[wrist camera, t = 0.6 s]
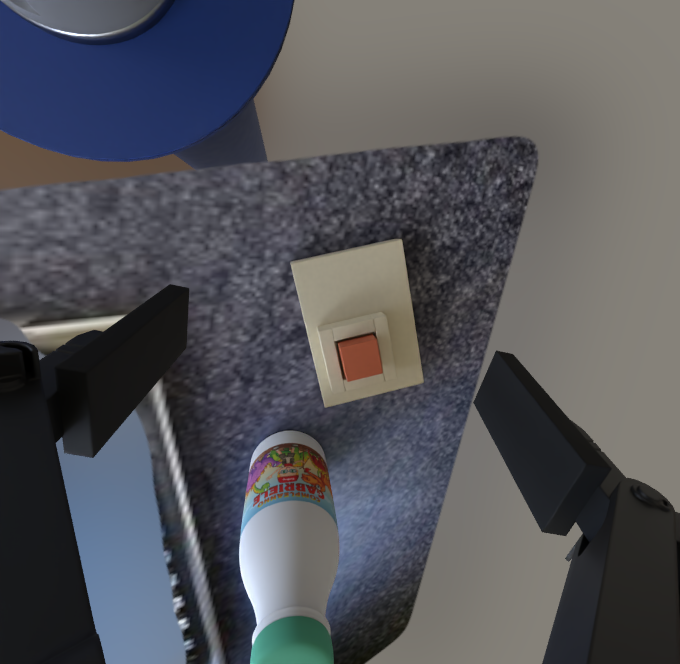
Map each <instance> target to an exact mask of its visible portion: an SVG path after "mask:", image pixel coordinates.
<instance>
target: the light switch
mask: <svg viewBox="0 0 680 664" xmlns="http://www.w3.org/2000/svg"><path fill="white" fill-rule="evenodd" d="M290 263H291V268H292V272H293V276H294V280H295V284H296V288H297V293H298V297H299V301H300V305H301V309H302V314H303V318H304V322H305V326H306V330H307V335H308V339H309V343H310V347H311V351H312V355H313V360H314V364H315V368H316V372H317V376H318V381H319V385H320V389H321V393H322V397H323V402H324V406H325V408H326V407H330V406H334V405H338V404H342V403H346V402H350V401H354V400H358V399H362V398H366V397H369V396H373V395H377V394H381V393H385V392H389V391H393V390H397V389H401V388H405V387H409V386H413V385H417V384H421V383H424V380H423V373H422V367H421V360H420V354H419V347H418V341H417V334H416V328H415V321H414V314H413V308H412V301H411V295H410V288H409V282H408V275H407V269H406V262H405V256H404V249H403V243H402V239H392V240H387V241H383V242H378V243H373V244H369V245H364V246H360V247H355V248H351V249H346V250H342V251H337V252H332V253H328V254H323V255H319V256H314V257H310V258H305V259H301V260H296V261H291V262H290ZM370 334H373V335H374V337H375V338H376V339H377V343H378V348H379V354H380V359H381V365H382V370H383V373H382V374H378V375H374V376H370V377H366V378H362V379H358V380H354V381H350V382H347V380H346V377H345V375H344V370H343V366H342V361H341V357H340V352H339V347H338V342H340V341H345V340H349V339H353V338H357V337H361V336H365V335H370Z"/></svg>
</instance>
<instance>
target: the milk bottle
mask: <svg viewBox="0 0 680 664" xmlns="http://www.w3.org/2000/svg"><path fill="white" fill-rule="evenodd" d="M239 558H240V569H241V575H242V579H243V583H244V586H245V588H246V591H247V593H248V596H249V598H250V600H251V602H252V605H253V608H254V611H255V615H256V620H257V627H256V629H255V631H254V633H253V638H252V645H253V647H252V652H251V660H250V664H333V663H334V660H333V648H332V642H331V637H330V626H329V623H328V621H327V619H326V618H325V612H326V606H327V601H328V597H329V593H330V591H331V588H332V585H333V582H334V579H335V576H336V572H337V567H338V561H339V536H338V528H337V520H336V514H335V508H334V502H333V496H332V490H331V485H330V479H329V474H328V468H327V463H326V459H325V455H324V452H323V449H322V447H321V446H320V444H319V443H318V442H317V441H316V440H315V439H314V438H312V437H311V436H309V435H307V434H305V433H302V432H299V431H282V432H278V433H275V434H273V435H271V436H269V437H268V438H266V439H265V440H264V441H262V442H261V443H260V444H259V445H258V447H257V448H256V450H255V451H254V453H253V456H252V459H251V464H250V470H249V477H248V484H247V491H246V498H245V505H244V512H243V520H242V527H241V537H240V548H239Z"/></svg>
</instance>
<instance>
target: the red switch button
mask: <svg viewBox="0 0 680 664" xmlns="http://www.w3.org/2000/svg"><path fill="white" fill-rule="evenodd" d="M338 347H339V352H340V357H341V361H342V366H343V370H344V375H345V377H346V380H347V382H350V381H354V380H358V379H362V378H366V377H370V376H374V375H378V374H382V373H383V370H382V365H381V359H380V354H379V348H378V343H377V339H376V338H375V337H374V335H373V334H370V335H365V336H361V337H357V338H353V339H349V340H345V341H340V342H338Z"/></svg>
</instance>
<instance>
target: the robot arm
mask: <svg viewBox="0 0 680 664" xmlns="http://www.w3.org/2000/svg"><path fill="white" fill-rule="evenodd" d="M0 1H1V2H3V3H4V4H5V5H6V6H8V7H9V8H10V9H11V10H12V11H14V12H15V13H16V14H18V15H19V16H20V17H22V18H23V19H24V20H26V21H27V22H29V23H30V24H32V25H34V26H35V27H37V28H39V29H41V30H42V31H44V32H46V33H48V34H51V35H53V36H56V37H58V38H61V39H64V40H67V41H70V42H75V43H80V44H88V45H109V44H116V43H120V42H124V41H127V40H130V39H133V38H135V37H137V36H139V35H141V34H143V33H145V32H146V31H148V30H149V29H151V28H152V27H153V26H154V25H155V24H157V23H158V22H159V21H160V20H161V19H162V18H163V17H164V15H165V14H166V13H167V12H168V10H169V9H170V8H171V6H172V4H173V3H174V1H175V0H0ZM188 302H189V288H185V287H180V286H176V285H171V284H170V285H168V286H167V287H166V288H164V289H163V290H161V291H160V292H159V293H157V294H156V295H154V296H153V297H152V298H150V299H149V300H147V301H146V302H145V303H143V304H142V305H140V306H139V307H138V308H136V309H135V310H133V311H132V312H131V313H129V314H128V315H126V316H125V317H124V318H122V319H121V320H119V321H118V322H117V323H115V324H114V325H112V326H111V327H109V328H108V329H107V330H105V331H104V332H102V331H97V330H92V331H89V332H86V333H83V334H80V335H77V336H76V337H74V338H73V339H71V340H70V341H68V342H67V343H66V344H65V345H62V346H61V347H59V348H58V349H56V351H53V352H51V353H50V354H48V355H47V356H45V357H44V358H42V359H41V360H39V355H38V350H37V348H36V347H35V346H34V345H32V344H29V343H27V342H20V341H0V664H106V663H105V659H104V654H103V650H102V646H101V642H100V638H99V635H98V634H97V633H96V629H95V625H94V621H93V616H92V611H91V607H90V603H89V597H88V593H87V588H86V583H85V579H84V574H83V569H82V565H81V560H80V555H79V551H78V546H77V541H76V537H75V532H74V527H73V522H72V518H71V513H70V509H69V504H68V499H67V494H66V490H65V485H64V480H63V476H62V471H61V466H60V462H59V457H58V452H57V448H56V442H57V441H58V440H59V439H60V438H61V437H62V438H63V446H64V453H67V454H73V455H79V456H85V457H92V458H93V457H94V456H95V455H96V454H97V453H98V452H99V450H100V449H101V448H102V447H103V446H104V445H105V443H106V442H107V441H108V440H109V439H110V437H111V436H112V435H113V434H114V433H115V431H116V430H117V429H118V428H119V427H120V426H121V424H122V423H123V422H124V421H125V420H126V418H127V417H128V416H129V415H130V414H131V413H132V411H133V410H134V409H135V408H136V407H137V405H138V404H139V403H140V402H141V401H142V400H143V398H144V397H145V396H146V395H147V394H148V392H149V391H150V390H151V389H152V388H153V386H154V385H155V384H156V383H157V382H158V381H159V379H160V378H161V377H162V376H163V375H164V373H165V372H166V371H167V370H168V369H169V368H170V366H171V365H172V364H173V363H174V362H175V360H176V359H177V358H178V357H179V356H180V355H181V353H182V352H183V351H184V350H185V349H186V343H187V323H188ZM473 403H474V404H475V406H476V408H477V410H478V412H479V414H480V416H481V418H482V420H483V421H484V423H485V425H486V427H487V429H488V431H489V433H490V435H491V437H492V439H493V440H494V442H495V444H496V446H497V448H498V450H499V452H500V453H501V455H502V457H503V459H504V461H505V463H506V465H507V467H508V469H509V470H510V472H511V474H512V476H513V478H514V480H515V482H516V484H517V486H518V487H519V489H520V491H521V493H522V495H523V497H524V499H525V501H526V503H527V504H528V506H529V508H530V510H531V512H532V514H533V516H534V518H535V520H536V521H537V523H538V525H539V527H540V529H541V531H542V532H544V533H550V534H557V535H563V536H566V535H567V534H568V532H569V531H570V529H571V528H572V526H573V525H574V523H575V522H576V523H577V524H578V526H579V527H580V529H581V531H582V532H583V534H582V536H581V537H580V538H579V540H578V541H577V542H576V544H575V545H574V547H573V548H572V550H571V551H570V553H569V554H568V555H567V557H566V558H565V559H566V560H567V561H570V560H571V559H572V561H571V564H570V568H569V571H568V575H567V578H566V582H565V586H564V589H563V592H562V596H561V600H560V603H559V607H558V610H557V614H556V617H555V621H554V624H553V628H552V631H551V635H550V638H549V642H548V645H547V649H546V653H545V656H544V660H543V663H542V664H680V513H677V512H675V510H674V508H673V506H672V505H671V503H670V502H669V501H668V500H667V499H666V498H665V497H664V496H663V495H661V494H660V493H659V492H658V491H657V490H655V489H653V488H652V487H650V486H649V485H647V484H645V483H642V482H640V481H638V480H635V479H631V478H626V477H625V476H624V475H623V474H622V473H621V472H620V470H619V469H618V468H617V467H616V466H615V465H614V464H613V462H612V461H611V460H610V459H609V458H608V457H607V456H606V455H605V453H604V452H601V449H600V448H599V447H598V446H597V444H596V443H593V440H592V439H591V438H590V436H589V435H588V434H587V433H586V432H585V431H584V430H583V429H582V428H580V427H579V426H577V425H576V424H575V423H574V422H573V421H571V420H569V418H568V417H567V416H566V415H565V414H564V413H563V411H562V410H561V409H560V408H559V407H558V406H557V405H556V403H555V402H554V401H553V400H552V399H551V398H550V396H549V395H548V394H547V393H546V392H545V391H544V389H543V388H542V387H541V386H540V385H539V384H538V383H537V381H536V380H535V379H534V378H533V377H532V376H531V374H530V373H529V372H528V371H527V370H526V369H525V367H524V366H523V365H522V364H521V363H520V362H519V361H518V359H517V358H516V357H515V356H514V355H513V354H510V353H505V352H500V351H496V352H495V355H494V357H493V359H492V362H491V364H490V366H489V368H488V370H487V373H486V375H485V377H484V380H483V382H482V384H481V386H480V389H479V391H478V393H477V396H476V398H475V400H474V402H473Z"/></svg>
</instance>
